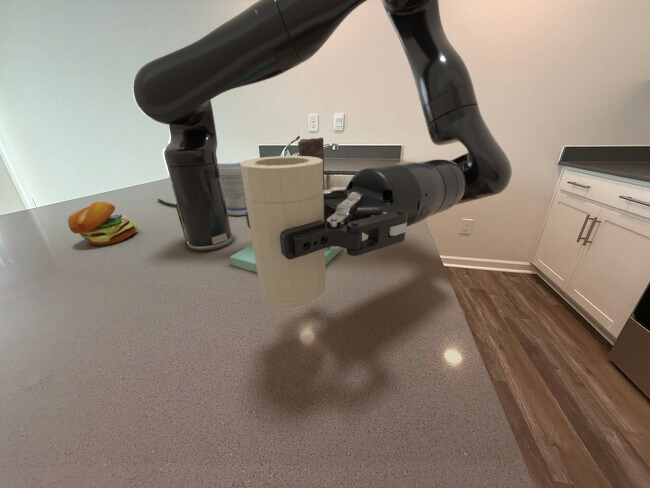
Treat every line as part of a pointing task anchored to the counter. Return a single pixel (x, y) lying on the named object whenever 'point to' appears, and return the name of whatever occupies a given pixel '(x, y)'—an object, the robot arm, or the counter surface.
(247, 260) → the scale
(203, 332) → the counter surface
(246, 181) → the jar
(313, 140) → the candle
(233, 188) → the supplement tub
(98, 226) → the cheeseburger
